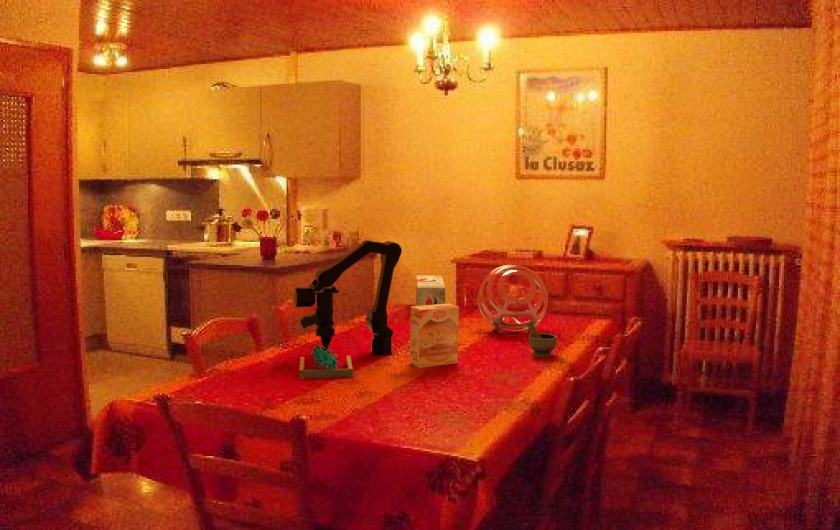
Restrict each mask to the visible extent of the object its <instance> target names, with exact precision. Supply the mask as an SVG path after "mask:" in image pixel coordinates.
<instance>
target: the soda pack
mask: <svg viewBox="0 0 840 530" xmlns="http://www.w3.org/2000/svg"><path fill="white" fill-rule="evenodd" d="M415 277H416V278H415V303H416V304H415V306H424V305H436V304H446V285H445V282H444V278H443V275H434V274H432V275H431V274H430V275H429V274H427V275H425V274H424V275H423V274H416V276H415Z"/></svg>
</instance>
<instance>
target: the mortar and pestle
mask: <svg viewBox="0 0 840 530" xmlns="http://www.w3.org/2000/svg"><path fill="white" fill-rule="evenodd" d="M528 321H529V320H528ZM526 322H527V321H526ZM526 326H528V329H529V330H528V331H529V333H530V334H528V335H529V336H528V339H529V340H528V341H529V347H530V348H531V349H532V350H533V356H534V357H536V358H542V359H543V358H545V359H546V358H550V356H552V351H553V350H555V347H556V346H557V341H558V339H557V338H558V336H557V335H555V334H552V333H544V332H543V333H541V332H540V333H539V331H538V330H537V327H536V326H534V324H533V321H529V322H527V323H526Z"/></svg>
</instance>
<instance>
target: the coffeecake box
mask: <svg viewBox="0 0 840 530" xmlns="http://www.w3.org/2000/svg"><path fill="white" fill-rule="evenodd" d="M459 310H460V308H459V306H458V305H455V304H453V303H445V304H436V305H424V306H416V305H413V306H410V327H409V328H410V329H409V330H410V331H409V332H410V333H409V334H410V335H409V336H410V337H409V339H410V341H409V343H410V344H409V350H410V351H409V364H411V365H412V366H414V367H415V368H418V369H422V368H431V367H437V366H445V365H452V364H458V356H459V354H458V353H459V351H458V350H459V347H458V346H459Z"/></svg>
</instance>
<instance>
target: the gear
mask: <svg viewBox="0 0 840 530" xmlns="http://www.w3.org/2000/svg"><path fill="white" fill-rule="evenodd" d="M325 349H326V347H325V346H323V345H322V346H321V345H320V344H317V345H316V346H313V347H312V349H311V350H312V352H311V356H314V357H313V361H314V362H317V363H316V364H315V365H314V368H315V369H318V368H319V367H320V368H321V367H322V366H323V365H324V367H323V369H338V363H339V361H338V360H336V358H337V356H338V354H337V353H334V354H331V353H332V350H331V349H329V348H328V349H327V351H325Z"/></svg>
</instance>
